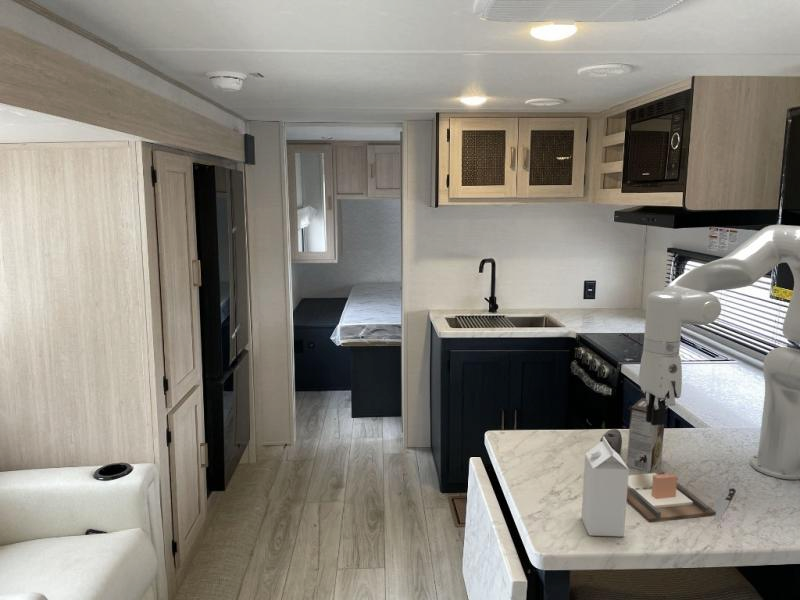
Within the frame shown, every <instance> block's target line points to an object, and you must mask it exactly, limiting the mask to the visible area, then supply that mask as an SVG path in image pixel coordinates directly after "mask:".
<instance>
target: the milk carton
mask: <svg viewBox="0 0 800 600" xmlns="http://www.w3.org/2000/svg"><path fill="white" fill-rule="evenodd" d="M602 436H603V435H602ZM629 471H630V469H629V466H627V463H625V461H624V460H623V459H622V457H621V455H620V453H619V454H618V453H617V452H615V451H614V450H613V449H612V448H611V447H610V445H609V444H608V442H607V441H606V439H605V437H604V436H603V441H602V442H601V441H600V442H599V443H598V444H596V445H595V446H594V447H592V448H591V449H590V450H588V451H586V453H585V455H584V471H583V485H582V488H583V489H582V502H581V517H580V518H581V520H582V523H583V524H584V525H583V526H584V527H585V530H586V531H587V534H588V536H594V537H595V536H598V537H599V536H600V537H624V536H625V527H626V526H625V524H626V515H627V513H626V512H627V511H626V510H627V488H628V475H629V474H630V473H629Z"/></svg>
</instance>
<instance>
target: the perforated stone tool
mask: <svg viewBox="0 0 800 600" xmlns="http://www.w3.org/2000/svg"><path fill="white" fill-rule="evenodd" d="M603 436H604V437H605V439H606V441H607V442H608V444H609V445H610V447H611V448H612V449H613V450H614V451H615V452H617V453H618V454H619V455H620V453H621V450H622V445H623V437H622V433H621V431H619V430H618V429H616V428H613V429H610V430H607V431H606V432H605V433H604V434H602V436H601V438H600V440H599V441H600V442H602V441H603Z"/></svg>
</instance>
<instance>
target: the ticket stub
mask: <svg viewBox="0 0 800 600" xmlns="http://www.w3.org/2000/svg"><path fill="white" fill-rule="evenodd" d="M677 483H678V476H677V475H676V474H675V473H673V472H672V473H671V472H670V473H665V474H660V475H653V483H652V489H647V490H637V492H638V493H639V494H640V495H641V496H643V497H644V498H645V499H646V500H647V501H648V502H649V503H651V504H652V505H653V506H654V507H655V508H662V507H672V506H681V505H691V504H693V501H691V500H690V499H689V498H687V497H686V496H685V495H684V494H682V493H681V492H680V491H678V490H677V489H676V486H677Z"/></svg>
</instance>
